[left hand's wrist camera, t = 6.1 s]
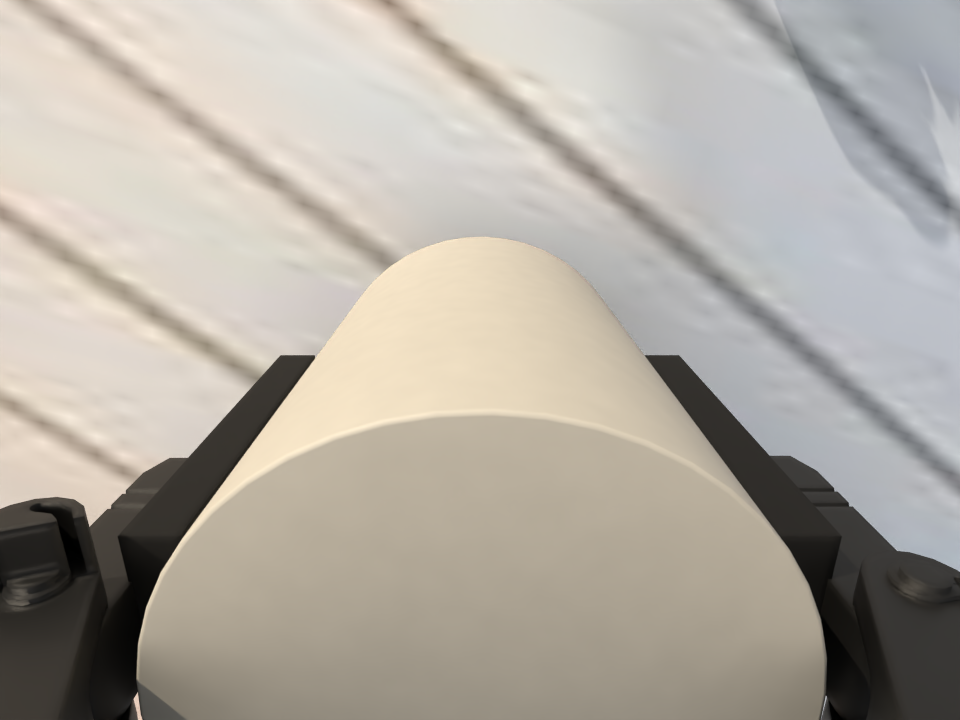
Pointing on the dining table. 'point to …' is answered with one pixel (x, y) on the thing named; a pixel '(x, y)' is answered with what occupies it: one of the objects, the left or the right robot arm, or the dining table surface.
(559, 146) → the dining table surface
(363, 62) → the dining table surface
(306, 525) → the cylinder
